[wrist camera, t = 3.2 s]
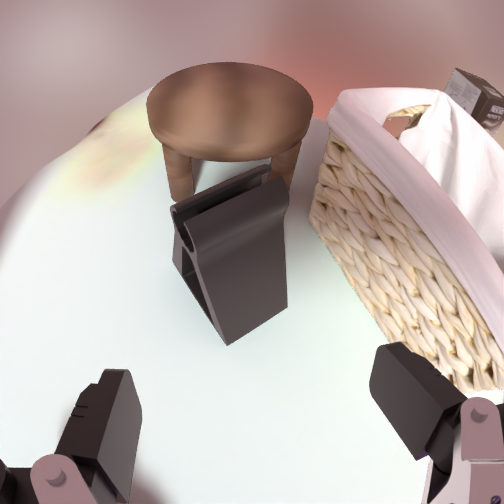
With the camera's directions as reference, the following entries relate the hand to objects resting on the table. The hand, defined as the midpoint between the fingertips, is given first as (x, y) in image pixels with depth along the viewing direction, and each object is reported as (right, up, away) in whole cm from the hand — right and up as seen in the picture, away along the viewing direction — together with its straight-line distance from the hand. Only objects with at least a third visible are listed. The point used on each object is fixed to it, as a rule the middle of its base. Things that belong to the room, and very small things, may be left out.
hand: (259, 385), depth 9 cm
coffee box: (+29, +17, +29) cm, 45 cm away
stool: (-3, +15, +25) cm, 29 cm away
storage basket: (+16, +2, +19) cm, 25 cm away
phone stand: (-2, +1, +17) cm, 17 cm away
